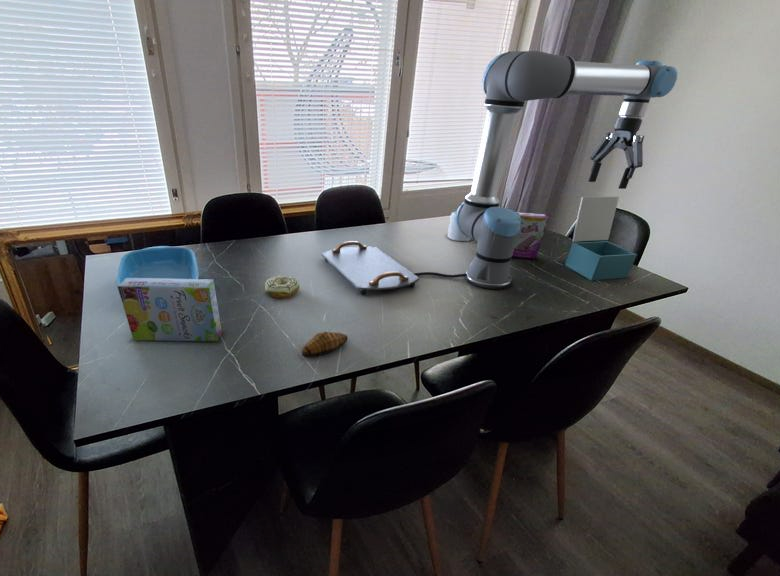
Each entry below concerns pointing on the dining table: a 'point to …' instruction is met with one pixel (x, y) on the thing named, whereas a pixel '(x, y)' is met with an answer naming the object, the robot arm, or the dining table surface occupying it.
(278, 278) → the decorated donut
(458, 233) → the toilet tissue
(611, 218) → the lid
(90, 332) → the dining table surface
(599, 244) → the tote
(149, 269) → the casserole dish
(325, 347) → the croissant
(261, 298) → the dining table surface
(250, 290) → the dining table surface
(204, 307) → the snack box
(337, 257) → the serving tray
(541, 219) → the candy bar box
